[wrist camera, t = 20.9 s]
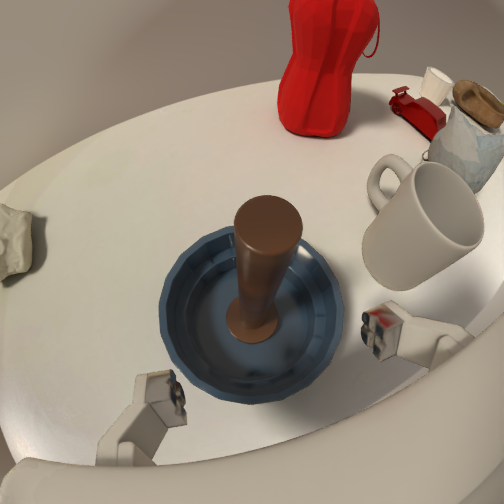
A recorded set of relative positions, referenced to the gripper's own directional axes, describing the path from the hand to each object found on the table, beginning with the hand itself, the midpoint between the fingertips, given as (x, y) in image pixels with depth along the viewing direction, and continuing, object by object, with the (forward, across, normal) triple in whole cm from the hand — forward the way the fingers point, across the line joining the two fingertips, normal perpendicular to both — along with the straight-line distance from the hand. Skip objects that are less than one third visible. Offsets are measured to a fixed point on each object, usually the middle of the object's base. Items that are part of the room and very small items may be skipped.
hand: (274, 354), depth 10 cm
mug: (+15, -17, +4) cm, 23 cm away
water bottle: (+29, -17, -10) cm, 35 cm away
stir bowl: (+12, 0, +7) cm, 14 cm away
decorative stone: (+23, +28, -3) cm, 36 cm away
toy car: (+27, -38, -8) cm, 47 cm away
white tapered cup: (+34, -50, -15) cm, 63 cm away
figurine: (+18, -30, +1) cm, 35 cm away
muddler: (+12, -1, +7) cm, 13 cm away
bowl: (+31, -65, -13) cm, 73 cm away
